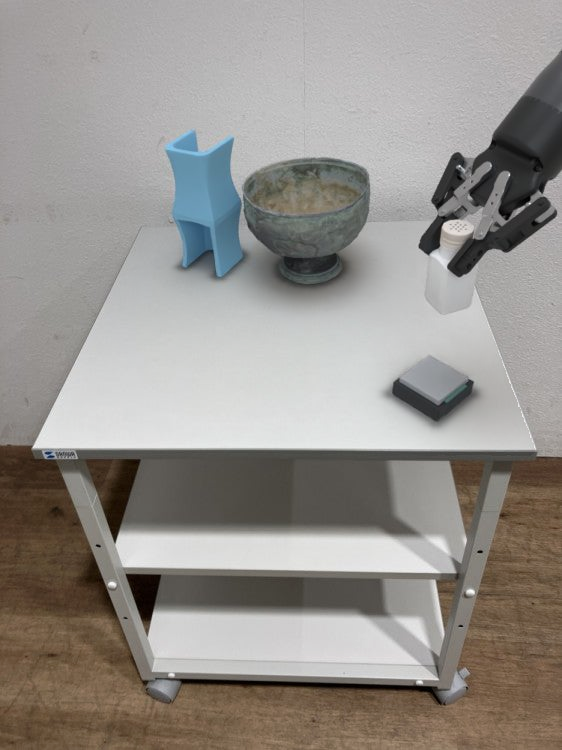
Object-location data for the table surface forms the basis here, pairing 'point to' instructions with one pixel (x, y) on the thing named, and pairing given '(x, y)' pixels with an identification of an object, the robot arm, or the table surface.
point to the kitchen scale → (433, 387)
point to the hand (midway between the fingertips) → (438, 261)
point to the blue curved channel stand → (205, 201)
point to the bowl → (307, 213)
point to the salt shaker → (440, 282)
